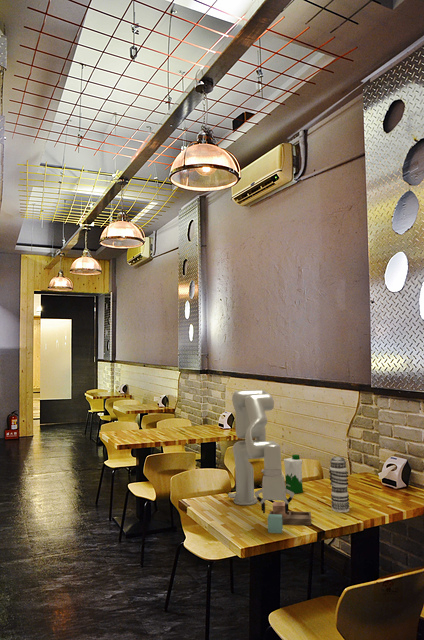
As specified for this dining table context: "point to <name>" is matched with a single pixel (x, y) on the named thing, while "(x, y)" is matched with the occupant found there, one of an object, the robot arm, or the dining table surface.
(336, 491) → the decorative candle
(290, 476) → the milk carton
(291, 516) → the walnut tray
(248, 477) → the robot arm
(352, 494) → the dining table surface
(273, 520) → the teal cube
